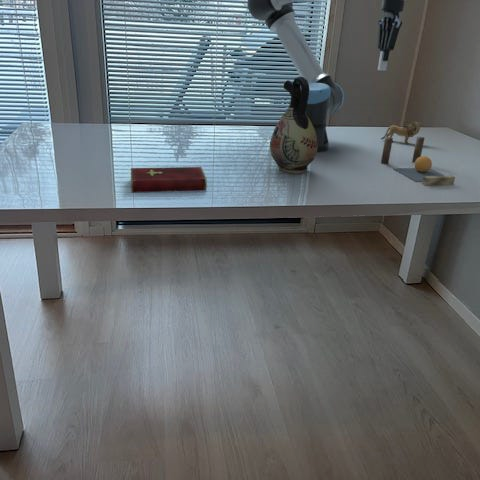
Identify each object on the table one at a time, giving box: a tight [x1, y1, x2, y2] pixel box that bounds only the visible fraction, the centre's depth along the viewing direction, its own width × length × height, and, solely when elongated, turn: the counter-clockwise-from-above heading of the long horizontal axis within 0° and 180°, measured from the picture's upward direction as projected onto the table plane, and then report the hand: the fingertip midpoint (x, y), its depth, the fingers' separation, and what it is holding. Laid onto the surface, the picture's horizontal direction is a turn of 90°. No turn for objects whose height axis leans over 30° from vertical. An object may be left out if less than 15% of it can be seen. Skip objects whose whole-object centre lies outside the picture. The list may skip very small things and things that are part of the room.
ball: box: [414, 155, 433, 172], centre depth 164 cm, size 6×6×6 cm
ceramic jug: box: [269, 76, 318, 174], centre depth 154 cm, size 17×15×30 cm
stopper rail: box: [421, 174, 456, 187], centre depth 153 cm, size 10×2×2 cm, turn 104°
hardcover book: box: [130, 166, 208, 193], centre depth 142 cm, size 12×21×4 cm, turn 101°
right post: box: [411, 136, 425, 164], centre depth 174 cm, size 3×3×9 cm
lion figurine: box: [380, 121, 421, 145], centre depth 202 cm, size 15×5×9 cm, turn 70°
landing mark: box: [392, 167, 445, 183], centre depth 163 cm, size 14×14×1 cm
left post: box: [380, 136, 394, 165], centre depth 171 cm, size 3×3×9 cm
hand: (381, 70), depth 179 cm, fingers closed
